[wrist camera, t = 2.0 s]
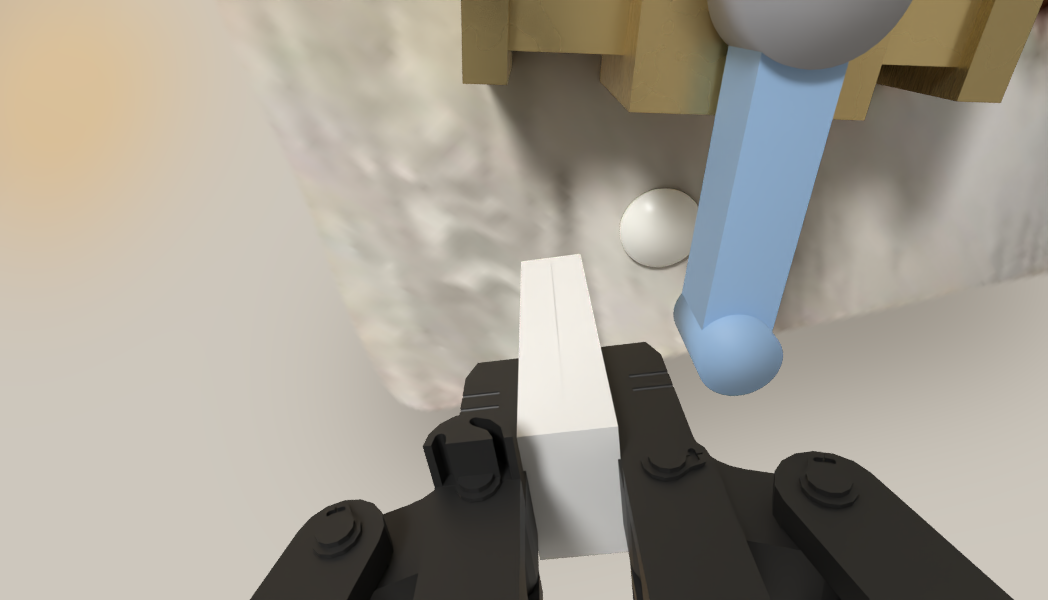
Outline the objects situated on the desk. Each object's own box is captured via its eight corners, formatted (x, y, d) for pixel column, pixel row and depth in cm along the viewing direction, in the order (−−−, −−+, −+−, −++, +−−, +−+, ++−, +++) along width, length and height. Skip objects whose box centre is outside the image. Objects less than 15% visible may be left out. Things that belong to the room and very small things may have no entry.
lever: (722, -115, 15) (773, -147, 12) (879, -109, 15) (970, -139, 12) (648, 338, 22) (668, 393, 19) (756, 342, 22) (794, 397, 19)
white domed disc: (624, 186, 29) (625, 188, 29) (708, 189, 29) (710, 191, 29) (615, 263, 31) (615, 265, 31) (693, 266, 31) (695, 268, 31)
